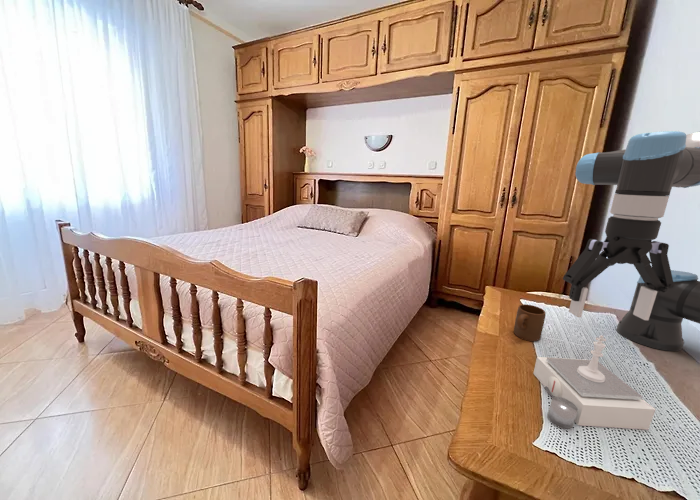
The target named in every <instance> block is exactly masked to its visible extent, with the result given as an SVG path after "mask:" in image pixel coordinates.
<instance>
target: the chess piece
mask: <svg viewBox="0 0 700 500" xmlns="http://www.w3.org/2000/svg"><path fill="white" fill-rule="evenodd" d="M595 340H596V341H593V348H594V349H593V350H592V349H591V351H590V354H591V355H592V357H591V358H590V360H591V361H590V363H589V365H588V366H579V367H578V369H577V372H578V373H579V374H580V375H581V376H582V377H584V378H586V379H588V380H590V381H593V382H598V383H602V382H604V381H605V376H604V375H603V374H602V373H601V372H600V371H599V370H598V362H599V359H600V358H602V357H603V356H604V354H603V353H602V351H603V350H604V349H605V348H606V344H605V343H603V342H607V339H606V338H604V335H602V334H601V335H599V337H595Z"/></svg>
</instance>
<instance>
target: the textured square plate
mask: <svg viewBox="0 0 700 500" xmlns="http://www.w3.org/2000/svg"><path fill="white" fill-rule="evenodd" d="M546 361H547V362H548V363H549V364H550V365H551V366H552V367H553V368H554V369H555V370H556V371H557V372H558V373H559V374H560V375H561V376H562V377H563V378H564V379H565V380H566V381H567V382H568V383H569V384H570V385H571V386H572V387H573V388H574V389H575V390H576V391H577V392H578V393H579V394H580V395H581V396H586V397H602V398H618V399H635V400H642V399H643V397H644V396H643V395H642V394H640V393H639V392H637V390H635V389H633V387H631V386H630V385H628V384H627V383H626V382H625V381H624V380H622V378H620V377H618V375H616V374H615V373H613V372H612V371H611V370H609V369H608V368H607V367H606V366H605V365H603V364H602V363H600V362H599V361H598V370H599V371H600V372H601V373H602V374H603V375H604V376H605V381H604V382H602V383H598V382H593V381H590V380H588V379H586V378H584V377H582V376H581V375H580V374H579V373H578V372H577V369H578V367H579V366H588V365H589V363H590V361H591V359H584V360H579V358H566V359H561V357H548V358H547V359H546Z"/></svg>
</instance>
